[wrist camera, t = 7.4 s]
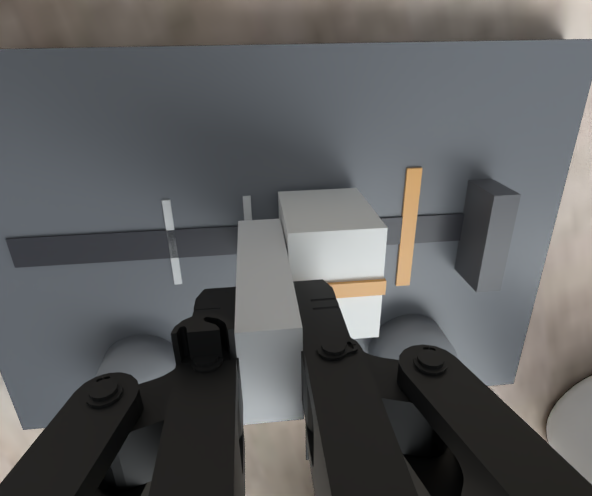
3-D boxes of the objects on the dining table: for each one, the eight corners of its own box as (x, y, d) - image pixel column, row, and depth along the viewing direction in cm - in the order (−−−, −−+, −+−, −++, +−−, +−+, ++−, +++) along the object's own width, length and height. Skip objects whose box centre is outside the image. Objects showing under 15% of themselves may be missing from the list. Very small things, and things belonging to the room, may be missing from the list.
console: (41, 398, 22) (1, 467, 18) (-81, 50, 15) (-182, 52, 12) (493, 358, 24) (536, 413, 21) (565, 39, 17) (649, 38, 14)
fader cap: (280, 284, 18) (289, 347, 14) (276, 191, 16) (286, 235, 13) (353, 279, 18) (381, 339, 15) (357, 187, 17) (390, 229, 13)
